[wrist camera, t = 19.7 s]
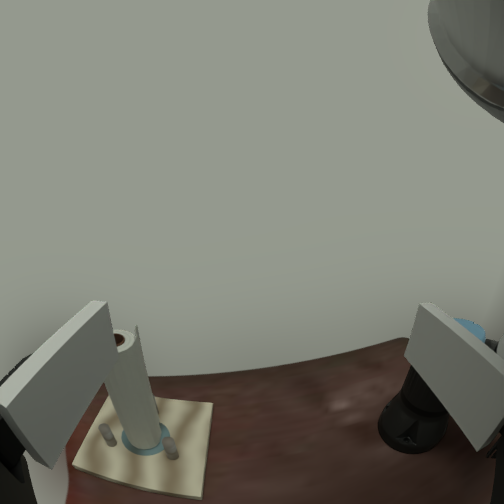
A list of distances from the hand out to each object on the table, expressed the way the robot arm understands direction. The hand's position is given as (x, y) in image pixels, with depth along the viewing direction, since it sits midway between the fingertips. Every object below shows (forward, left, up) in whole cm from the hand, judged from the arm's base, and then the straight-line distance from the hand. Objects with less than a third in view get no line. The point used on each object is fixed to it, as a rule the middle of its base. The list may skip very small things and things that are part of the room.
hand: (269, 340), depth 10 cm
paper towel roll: (+18, -19, -35) cm, 43 cm away
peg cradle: (+18, -19, -36) cm, 44 cm away
